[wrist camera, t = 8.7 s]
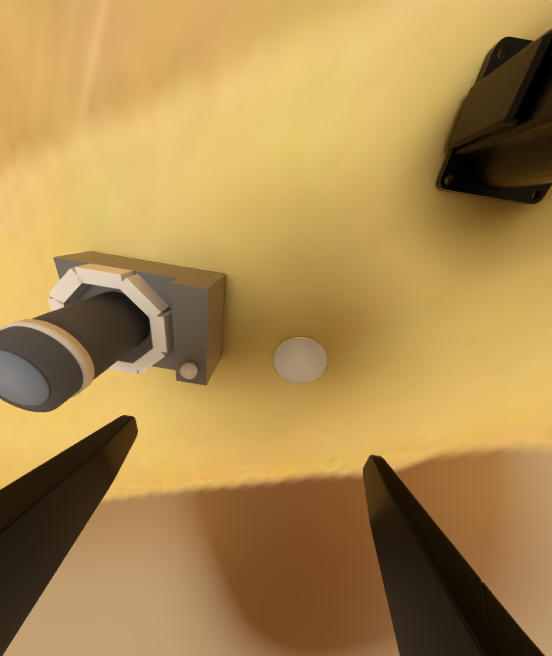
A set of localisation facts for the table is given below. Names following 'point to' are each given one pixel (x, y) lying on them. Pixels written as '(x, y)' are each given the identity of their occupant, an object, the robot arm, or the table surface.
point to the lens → (67, 349)
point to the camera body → (154, 309)
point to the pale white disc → (300, 360)
